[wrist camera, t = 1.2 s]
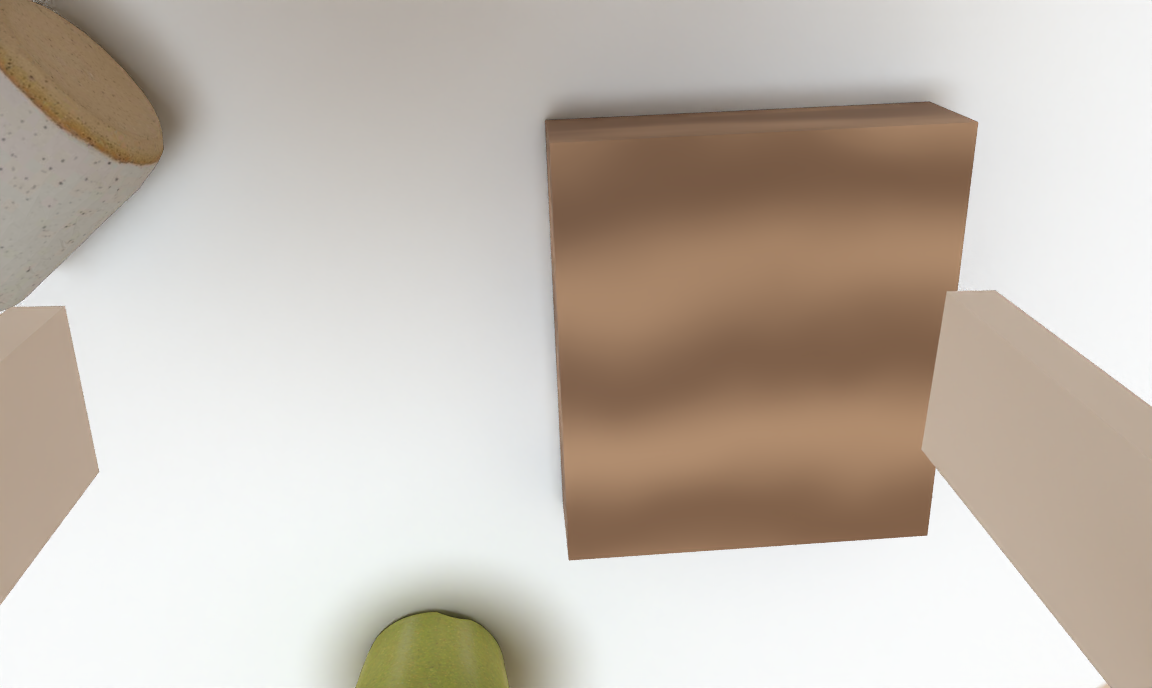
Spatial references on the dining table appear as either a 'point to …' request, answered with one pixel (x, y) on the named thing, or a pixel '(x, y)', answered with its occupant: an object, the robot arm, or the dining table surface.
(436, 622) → the plant pot
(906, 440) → the walnut riser block
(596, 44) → the dining table surface
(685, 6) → the dining table surface
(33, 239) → the ceramic mug
